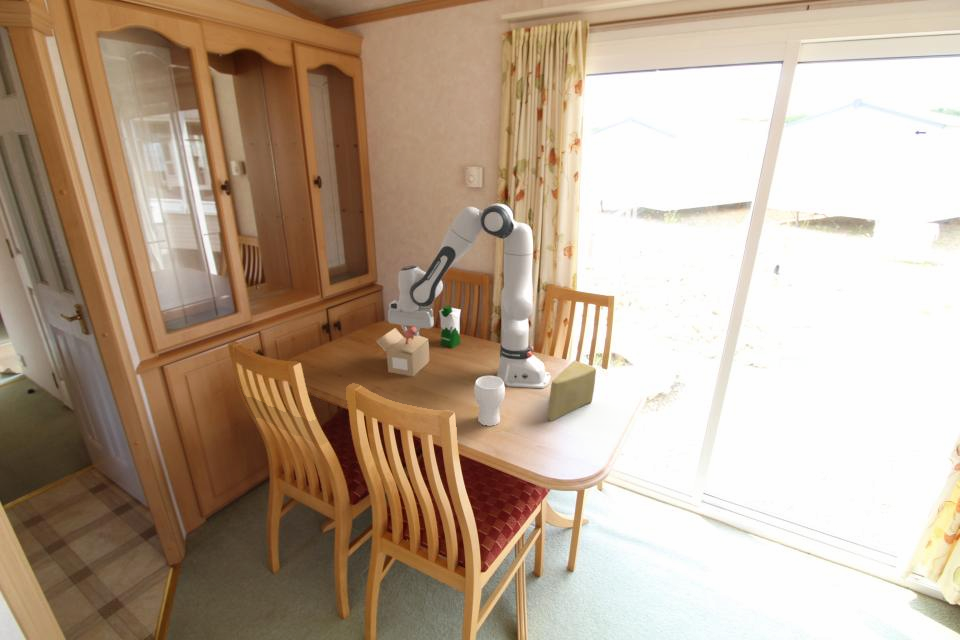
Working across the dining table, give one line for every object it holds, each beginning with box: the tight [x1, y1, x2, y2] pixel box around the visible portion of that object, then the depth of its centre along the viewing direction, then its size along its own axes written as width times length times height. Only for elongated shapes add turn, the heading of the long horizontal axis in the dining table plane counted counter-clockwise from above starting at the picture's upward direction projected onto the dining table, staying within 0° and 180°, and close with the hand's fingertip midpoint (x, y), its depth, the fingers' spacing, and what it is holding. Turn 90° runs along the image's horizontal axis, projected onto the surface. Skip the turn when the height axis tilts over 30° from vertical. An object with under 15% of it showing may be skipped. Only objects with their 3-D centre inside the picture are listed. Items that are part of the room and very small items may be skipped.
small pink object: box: [400, 326, 429, 354], centre depth 186 cm, size 7×16×7 cm, turn 162°
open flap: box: [375, 327, 404, 353], centre depth 190 cm, size 6×16×1 cm
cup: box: [473, 375, 506, 427], centre depth 150 cm, size 11×11×15 cm
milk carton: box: [438, 305, 462, 349], centre depth 212 cm, size 9×9×20 cm
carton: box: [386, 336, 430, 377], centre depth 190 cm, size 12×16×10 cm
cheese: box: [547, 360, 597, 422], centre depth 157 cm, size 22×10×15 cm, turn 137°
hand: (411, 335), depth 186 cm, fingers open, 3 cm apart
